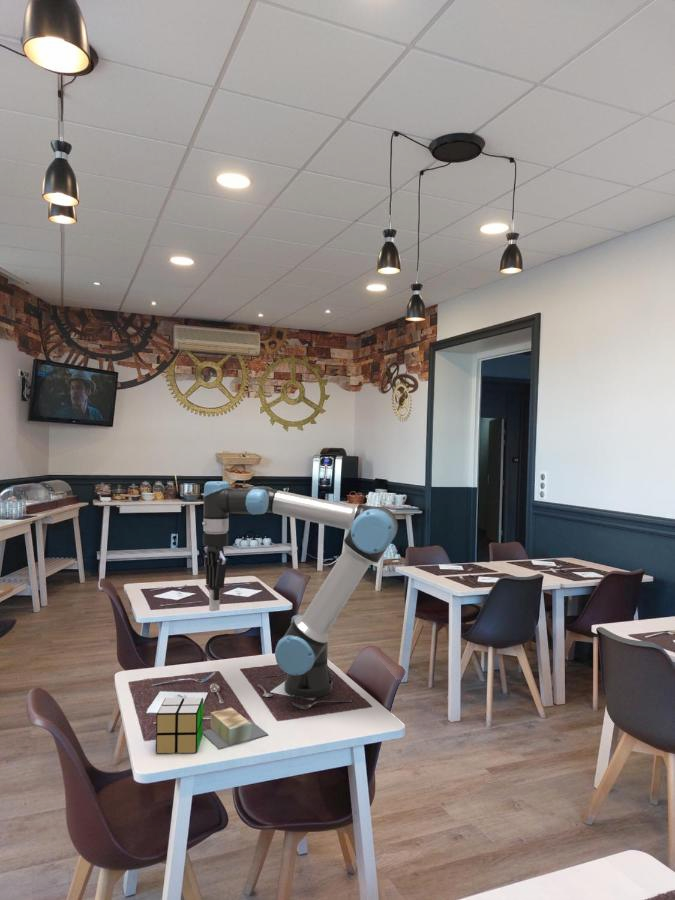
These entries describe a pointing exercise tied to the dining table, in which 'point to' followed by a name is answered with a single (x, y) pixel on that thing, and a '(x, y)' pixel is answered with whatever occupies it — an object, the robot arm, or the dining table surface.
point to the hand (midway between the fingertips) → (214, 610)
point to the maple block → (231, 726)
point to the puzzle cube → (179, 725)
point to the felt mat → (221, 743)
